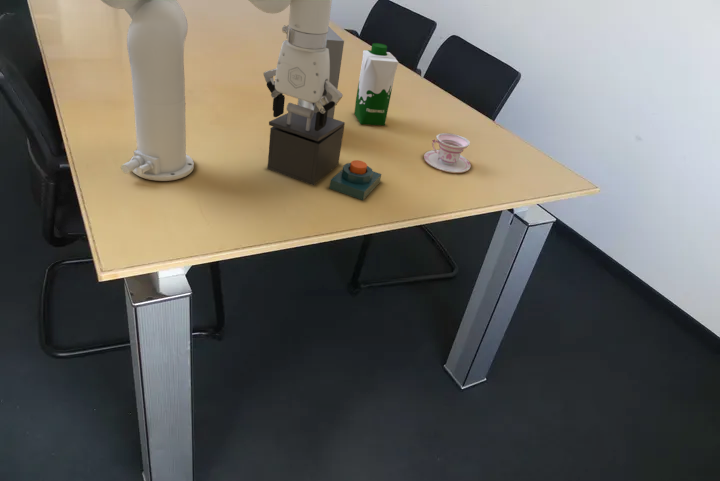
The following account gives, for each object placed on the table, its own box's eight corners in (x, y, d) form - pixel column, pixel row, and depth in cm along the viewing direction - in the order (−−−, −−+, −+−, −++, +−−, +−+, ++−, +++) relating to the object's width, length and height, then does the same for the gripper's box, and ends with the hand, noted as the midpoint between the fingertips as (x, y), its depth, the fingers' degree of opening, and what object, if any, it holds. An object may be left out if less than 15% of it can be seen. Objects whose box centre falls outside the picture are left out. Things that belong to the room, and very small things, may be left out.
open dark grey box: (313, 185, 121) (319, 144, 116) (267, 169, 124) (270, 127, 119) (338, 164, 132) (344, 125, 126) (294, 149, 134) (298, 111, 129)
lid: (318, 141, 115) (321, 116, 112) (268, 125, 118) (271, 100, 115) (344, 125, 126) (348, 102, 123) (298, 110, 129) (301, 88, 126)
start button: (362, 176, 121) (363, 169, 120) (346, 171, 122) (348, 164, 121) (368, 170, 124) (369, 163, 123) (353, 165, 124) (354, 158, 123)
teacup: (465, 155, 148) (471, 133, 144) (474, 176, 138) (481, 153, 134) (420, 149, 146) (426, 127, 143) (426, 170, 137) (432, 147, 133)
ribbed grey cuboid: (292, 119, 149) (302, 22, 135) (314, 119, 151) (326, 23, 138) (307, 142, 139) (319, 39, 125) (330, 142, 141) (344, 41, 127)
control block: (362, 200, 120) (366, 184, 117) (329, 188, 122) (331, 172, 119) (379, 182, 127) (383, 166, 125) (348, 171, 129) (350, 156, 127)
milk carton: (379, 114, 162) (392, 44, 151) (388, 127, 155) (403, 54, 144) (350, 112, 159) (361, 41, 148) (358, 126, 152) (371, 52, 141)
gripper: (257, 30, 107) (252, 115, 116) (339, 54, 102) (327, 140, 112) (277, 24, 113) (271, 105, 122) (356, 46, 108) (343, 128, 118)
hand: (298, 122), depth 117 cm, fingers open, 9 cm apart
